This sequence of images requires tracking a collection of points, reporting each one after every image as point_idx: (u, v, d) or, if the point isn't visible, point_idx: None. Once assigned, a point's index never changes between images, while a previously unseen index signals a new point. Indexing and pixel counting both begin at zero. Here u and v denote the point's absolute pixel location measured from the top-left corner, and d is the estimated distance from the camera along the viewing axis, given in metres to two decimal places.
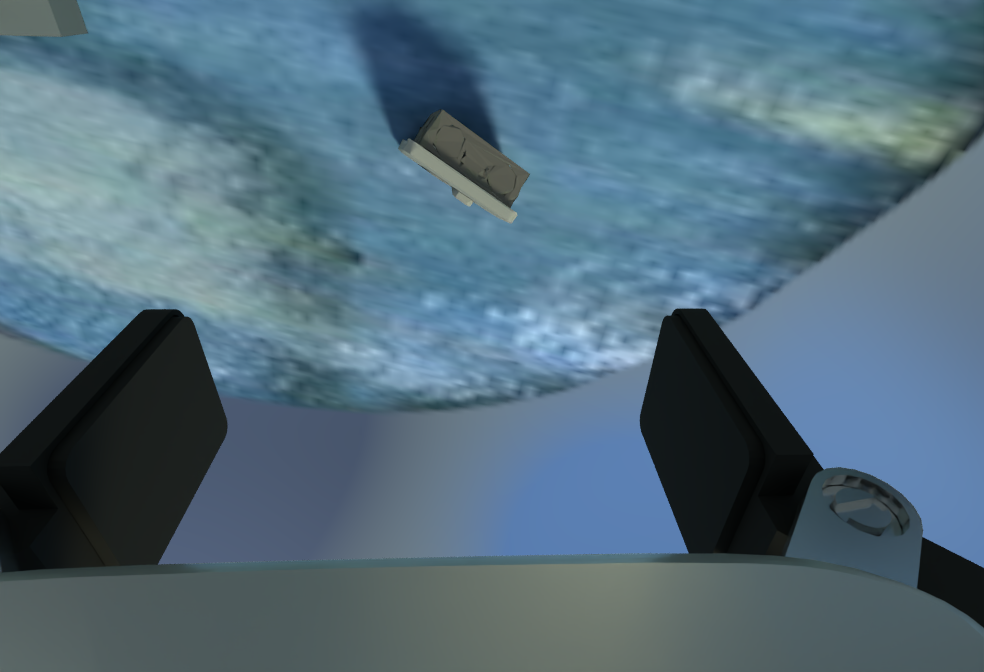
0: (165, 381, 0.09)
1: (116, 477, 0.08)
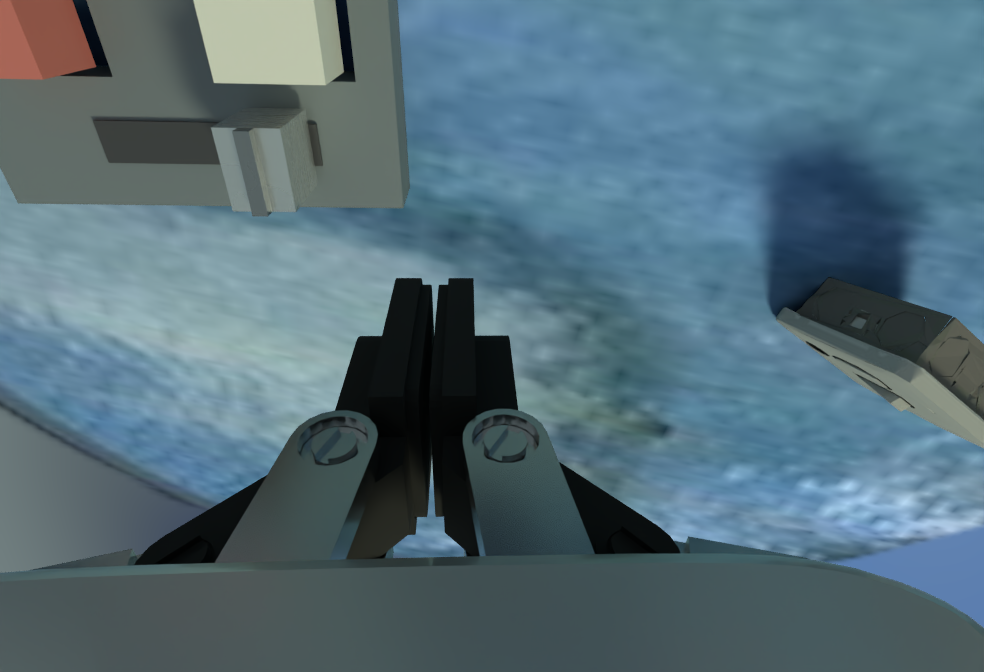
0: (428, 339, 0.10)
1: (424, 416, 0.09)
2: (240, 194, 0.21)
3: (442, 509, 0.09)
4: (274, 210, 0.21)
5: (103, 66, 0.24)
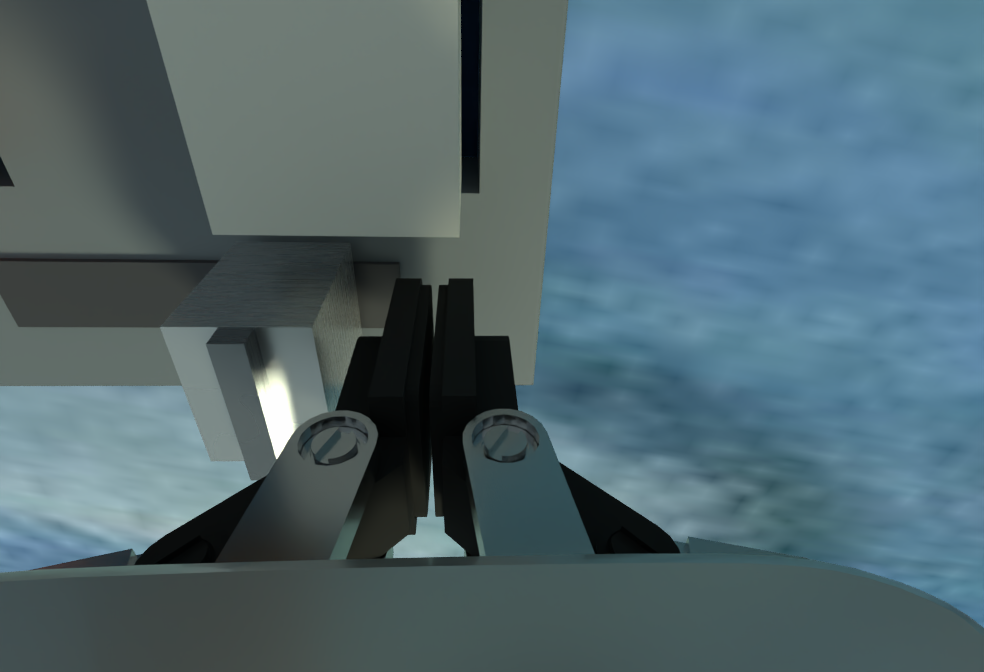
0: (429, 339, 0.10)
1: (424, 416, 0.09)
2: (226, 435, 0.10)
3: (442, 509, 0.09)
4: None
5: None
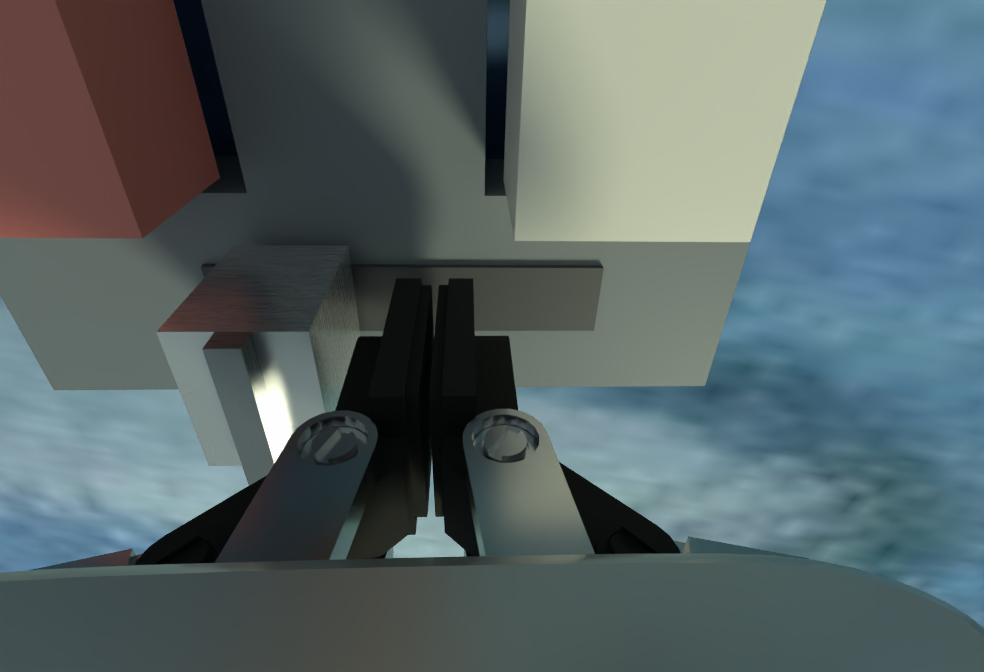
0: (428, 339, 0.10)
1: (424, 416, 0.09)
2: (223, 439, 0.10)
3: (442, 509, 0.09)
4: None
5: None
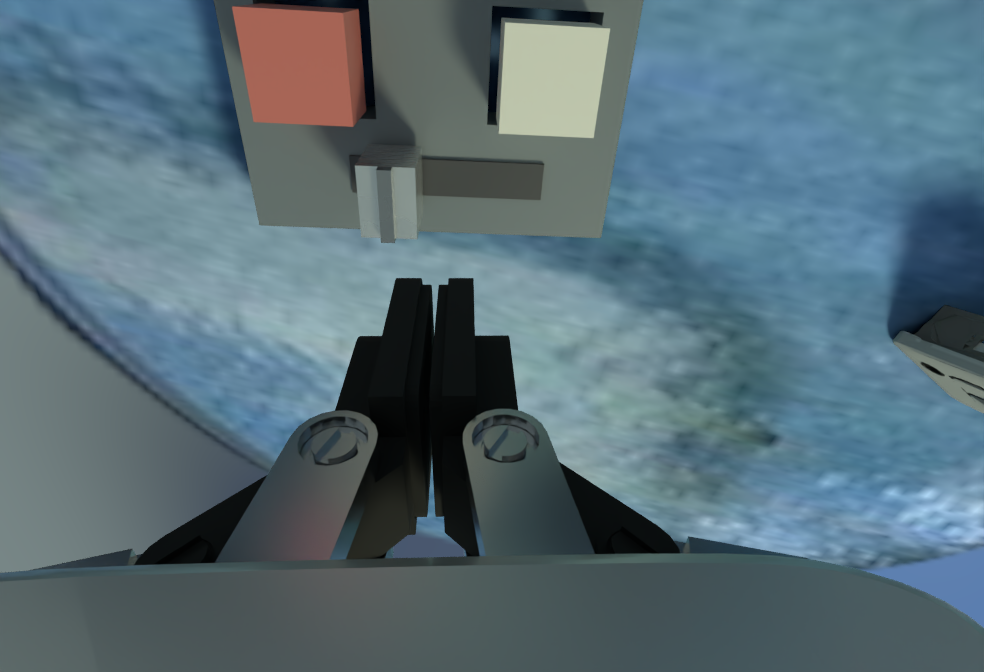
0: (428, 339, 0.10)
1: (424, 416, 0.09)
2: (370, 222, 0.23)
3: (442, 509, 0.09)
4: (398, 237, 0.24)
5: None
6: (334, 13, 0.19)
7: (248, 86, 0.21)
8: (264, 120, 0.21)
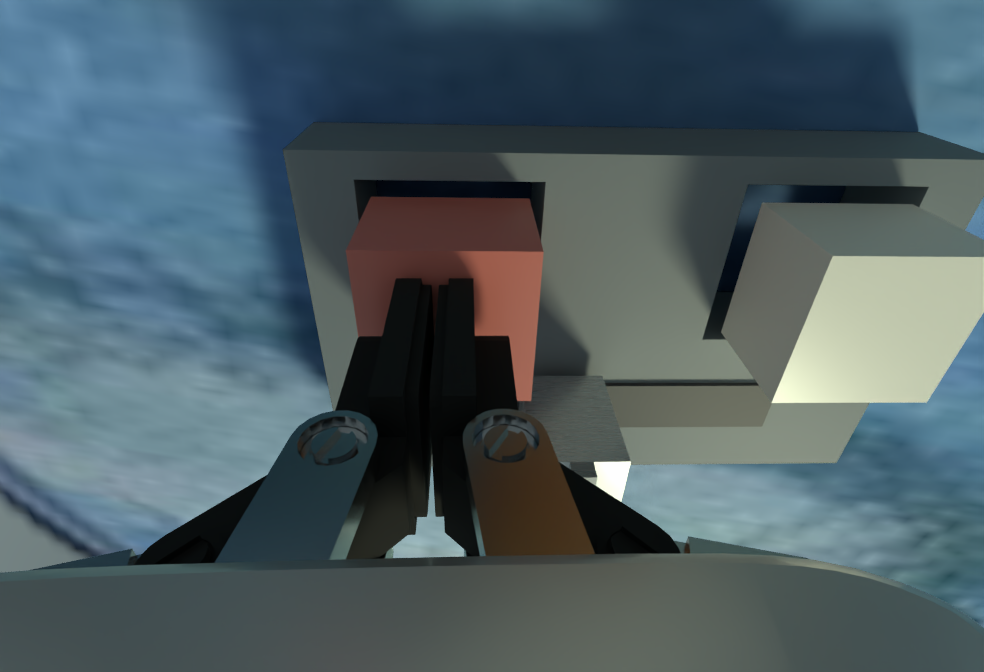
0: (428, 339, 0.10)
1: (424, 416, 0.09)
2: None
3: (442, 509, 0.09)
4: None
5: None
6: (528, 252, 0.11)
7: None
8: None
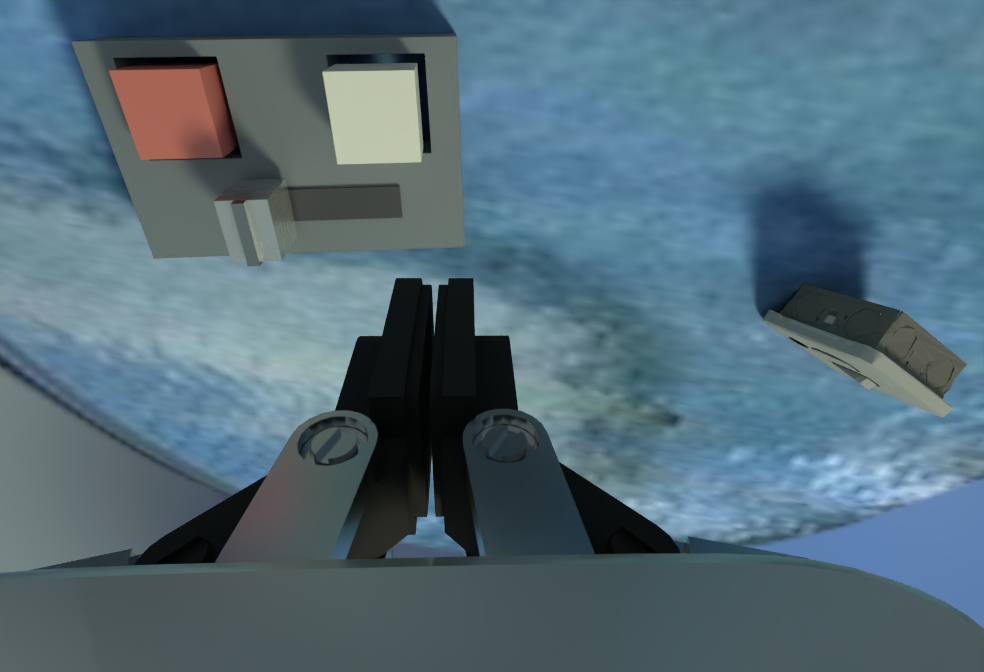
0: (428, 339, 0.10)
1: (424, 416, 0.09)
2: (237, 249, 0.27)
3: (442, 509, 0.09)
4: (264, 260, 0.27)
5: None
6: (191, 69, 0.24)
7: (131, 132, 0.26)
8: (149, 157, 0.26)
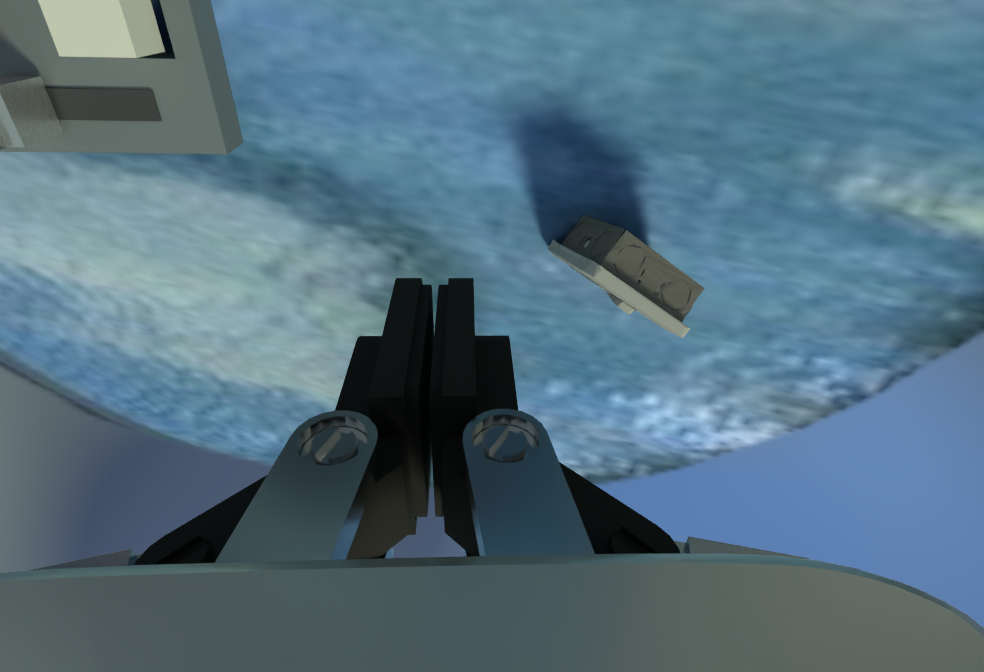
0: (428, 339, 0.10)
1: (424, 416, 0.09)
2: None
3: (442, 509, 0.09)
4: (8, 146, 0.30)
5: None
6: None
7: None
8: None
